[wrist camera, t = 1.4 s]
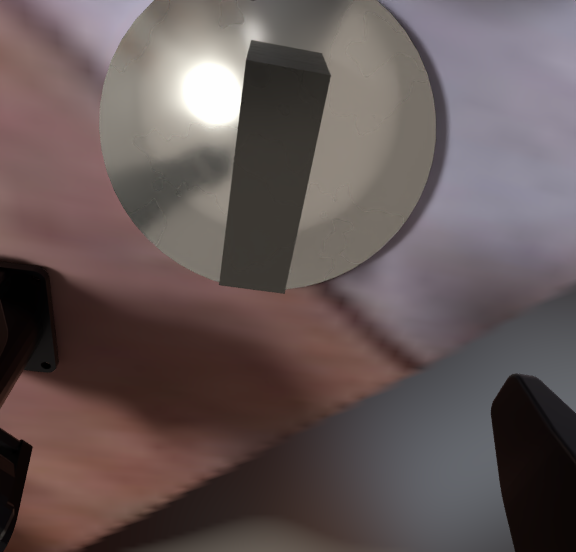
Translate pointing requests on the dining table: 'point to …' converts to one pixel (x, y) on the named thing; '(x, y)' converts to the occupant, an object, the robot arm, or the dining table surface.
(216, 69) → the lid
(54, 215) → the dining table surface
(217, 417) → the dining table surface
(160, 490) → the dining table surface
